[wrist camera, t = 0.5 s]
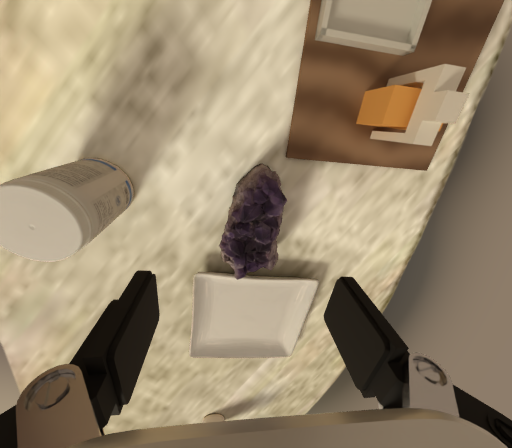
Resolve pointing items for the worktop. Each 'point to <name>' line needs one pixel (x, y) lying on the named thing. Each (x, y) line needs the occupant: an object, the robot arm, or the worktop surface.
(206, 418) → the milk bottle
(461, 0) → the board
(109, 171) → the supplement tub
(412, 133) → the beige blocky piece
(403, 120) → the orange block
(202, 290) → the square plate
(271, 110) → the worktop surface
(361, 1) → the tray
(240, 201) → the geode
